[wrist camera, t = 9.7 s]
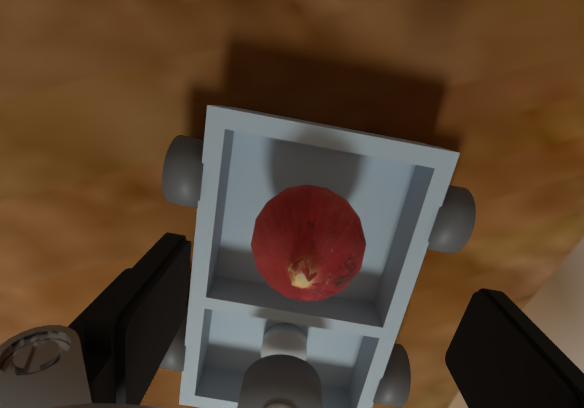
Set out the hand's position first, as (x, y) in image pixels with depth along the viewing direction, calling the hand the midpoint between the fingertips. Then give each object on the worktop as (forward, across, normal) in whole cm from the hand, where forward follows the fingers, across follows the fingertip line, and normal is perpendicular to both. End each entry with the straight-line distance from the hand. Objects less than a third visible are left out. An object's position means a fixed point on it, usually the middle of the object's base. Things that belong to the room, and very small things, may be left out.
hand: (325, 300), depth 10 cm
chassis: (+11, 0, +6) cm, 12 cm away
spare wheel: (+6, 0, +11) cm, 12 cm away
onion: (+10, 0, +1) cm, 10 cm away
